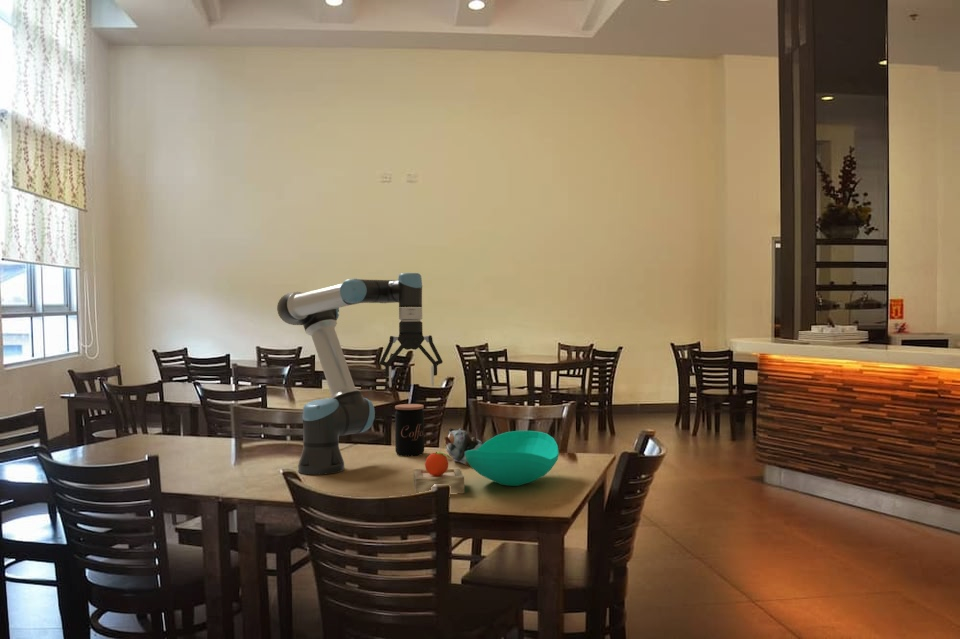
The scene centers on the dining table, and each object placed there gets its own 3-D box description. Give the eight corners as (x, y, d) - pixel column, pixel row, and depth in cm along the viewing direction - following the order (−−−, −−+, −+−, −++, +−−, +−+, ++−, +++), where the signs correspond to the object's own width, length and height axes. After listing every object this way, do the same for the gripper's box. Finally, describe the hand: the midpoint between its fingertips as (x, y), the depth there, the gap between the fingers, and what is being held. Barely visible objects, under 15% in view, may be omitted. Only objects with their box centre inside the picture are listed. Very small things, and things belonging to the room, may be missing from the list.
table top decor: (489, 468, 265) (489, 429, 265) (570, 473, 257) (570, 432, 256) (447, 495, 228) (446, 449, 228) (540, 501, 219) (540, 454, 219)
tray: (415, 495, 228) (415, 479, 228) (414, 484, 242) (413, 469, 242) (464, 493, 229) (464, 477, 229) (459, 483, 243) (459, 467, 243)
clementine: (453, 473, 238) (453, 450, 238) (450, 478, 231) (450, 454, 231) (427, 473, 239) (427, 449, 239) (423, 478, 232) (423, 454, 232)
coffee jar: (399, 457, 286) (398, 408, 286) (392, 452, 297) (392, 404, 296) (427, 455, 290) (427, 406, 290) (420, 450, 300) (419, 403, 300)
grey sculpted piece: (480, 467, 267) (459, 432, 266) (451, 478, 272) (432, 443, 271) (494, 447, 280) (475, 414, 279) (467, 458, 286) (448, 425, 284)
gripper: (371, 321, 251) (372, 388, 251) (450, 320, 254) (450, 386, 254) (372, 321, 258) (372, 385, 258) (448, 320, 261) (448, 384, 261)
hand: (411, 386), depth 256 cm, fingers open, 13 cm apart
